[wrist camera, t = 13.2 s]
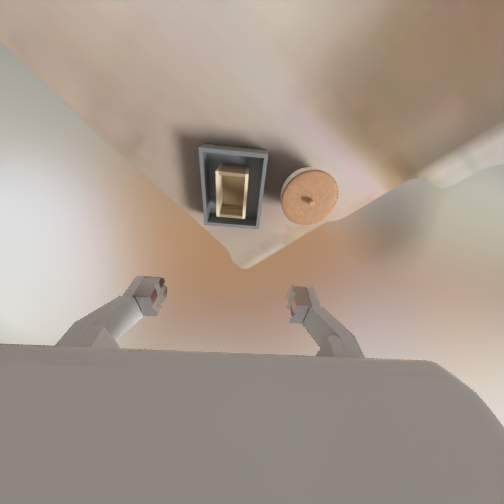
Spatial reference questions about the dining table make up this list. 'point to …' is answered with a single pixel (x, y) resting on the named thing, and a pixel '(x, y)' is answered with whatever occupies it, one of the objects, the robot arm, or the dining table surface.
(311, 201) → the lidded jar
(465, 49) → the dining table surface
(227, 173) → the pine crate
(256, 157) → the grey crate
